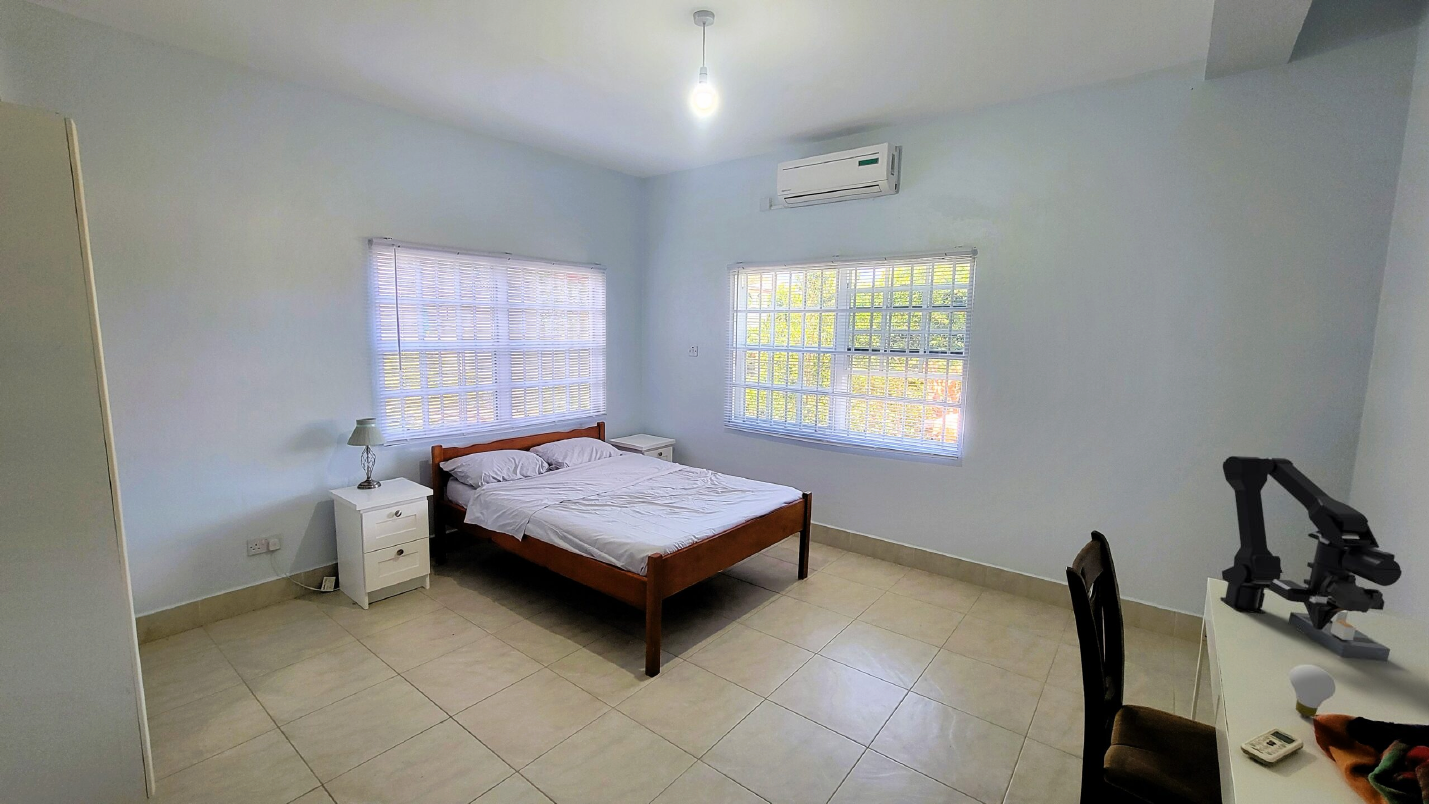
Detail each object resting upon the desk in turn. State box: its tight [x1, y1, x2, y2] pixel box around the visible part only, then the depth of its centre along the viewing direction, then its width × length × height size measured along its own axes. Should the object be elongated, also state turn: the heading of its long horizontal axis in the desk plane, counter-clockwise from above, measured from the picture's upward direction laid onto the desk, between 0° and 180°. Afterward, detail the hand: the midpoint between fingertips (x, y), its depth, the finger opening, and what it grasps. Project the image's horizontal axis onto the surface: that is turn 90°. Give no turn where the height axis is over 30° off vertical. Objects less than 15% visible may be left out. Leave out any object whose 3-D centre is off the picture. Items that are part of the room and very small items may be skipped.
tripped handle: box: [1331, 620, 1357, 640], centre depth 129 cm, size 2×3×3 cm, turn 172°
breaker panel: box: [1288, 611, 1391, 662], centre depth 133 cm, size 9×14×3 cm, turn 172°
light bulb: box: [1289, 664, 1336, 718], centre depth 107 cm, size 6×6×10 cm
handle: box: [1331, 610, 1349, 623], centre depth 136 cm, size 2×3×3 cm, turn 172°
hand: (1317, 628), depth 130 cm, fingers closed
